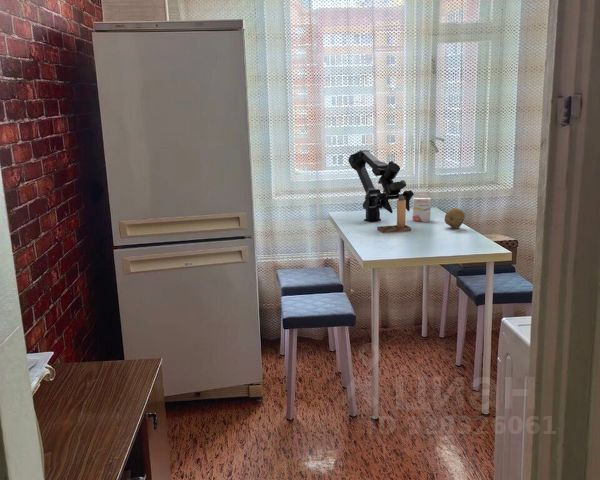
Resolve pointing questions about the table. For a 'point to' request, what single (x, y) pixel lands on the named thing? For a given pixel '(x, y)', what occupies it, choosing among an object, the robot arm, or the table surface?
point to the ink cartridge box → (421, 206)
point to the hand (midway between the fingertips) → (400, 211)
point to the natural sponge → (454, 218)
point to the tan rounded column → (401, 212)
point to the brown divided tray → (393, 229)
